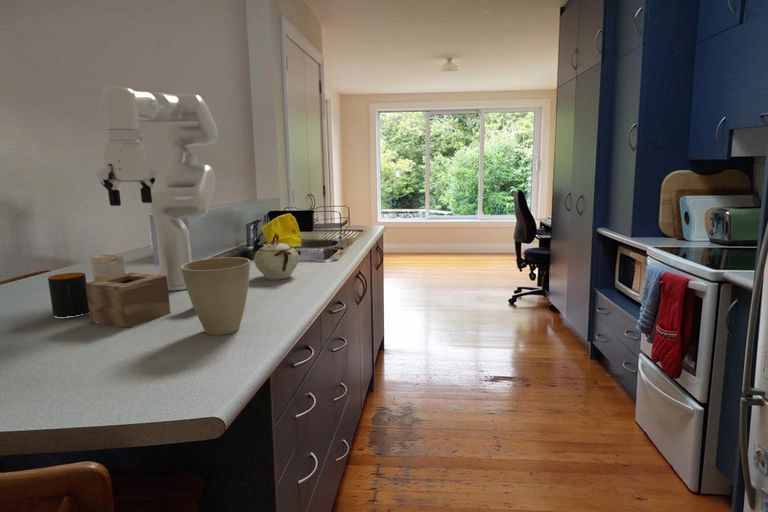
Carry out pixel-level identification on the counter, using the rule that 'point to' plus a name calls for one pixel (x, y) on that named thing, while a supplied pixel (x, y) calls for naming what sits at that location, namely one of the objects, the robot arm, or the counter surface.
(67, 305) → the mug
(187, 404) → the counter surface
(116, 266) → the supplement box
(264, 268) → the sugar bowl
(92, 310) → the box
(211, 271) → the plant pot
